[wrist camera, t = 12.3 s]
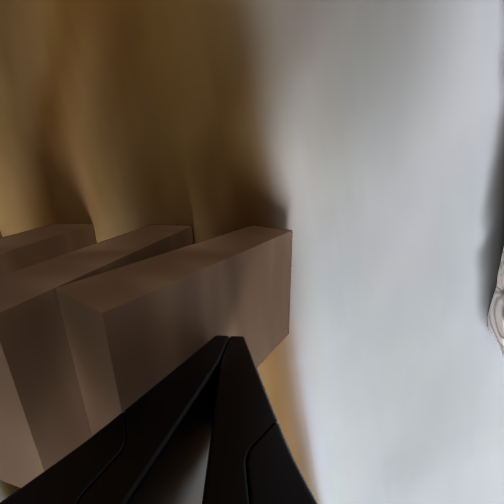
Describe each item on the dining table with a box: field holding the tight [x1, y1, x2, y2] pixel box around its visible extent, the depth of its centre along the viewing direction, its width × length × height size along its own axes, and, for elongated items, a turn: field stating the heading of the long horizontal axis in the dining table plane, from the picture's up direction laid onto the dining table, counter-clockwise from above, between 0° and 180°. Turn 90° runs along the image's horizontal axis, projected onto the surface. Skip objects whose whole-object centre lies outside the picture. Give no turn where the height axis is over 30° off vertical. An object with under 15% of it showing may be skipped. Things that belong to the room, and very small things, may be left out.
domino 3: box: [55, 225, 292, 436], centre depth 10 cm, size 2×5×8 cm, turn 179°
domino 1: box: [0, 224, 97, 276], centre depth 10 cm, size 2×5×8 cm, turn 1°
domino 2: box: [0, 224, 193, 488], centre depth 10 cm, size 2×5×8 cm, turn 0°
